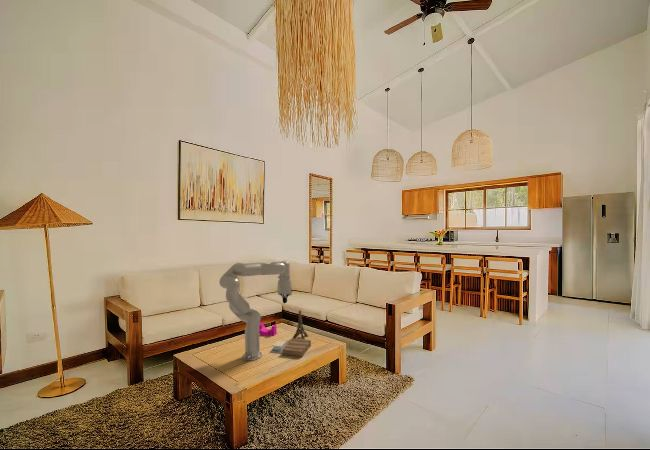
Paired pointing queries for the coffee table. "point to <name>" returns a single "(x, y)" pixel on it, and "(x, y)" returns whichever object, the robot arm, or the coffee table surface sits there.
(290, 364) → the coffee table surface
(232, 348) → the coffee table surface
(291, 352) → the deck
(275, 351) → the mat
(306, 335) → the eiffel tower
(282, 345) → the beige rectangular block
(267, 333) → the toy block
